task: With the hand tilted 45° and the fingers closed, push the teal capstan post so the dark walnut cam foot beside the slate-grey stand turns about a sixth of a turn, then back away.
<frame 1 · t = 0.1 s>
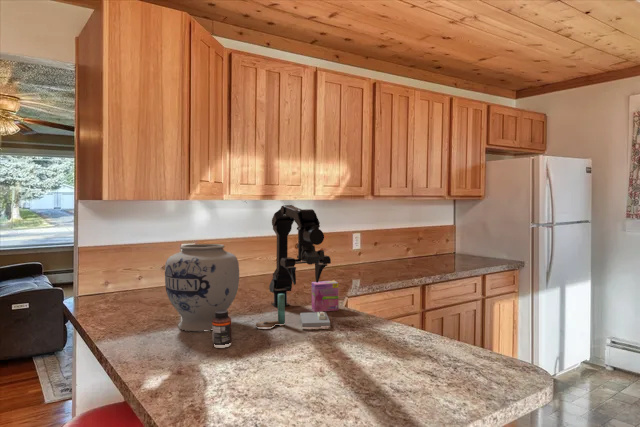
hand: (306, 283, 164), 15 cm above the counter, tool pointing down, fingers open, 9 cm apart
supplement bottle: (222, 346, 138), on the counter
cam foot: (270, 311, 158), point 6 cm above the counter, hinge at 0.0°
box: (325, 310, 182), on the counter
apothecary jar: (203, 325, 161), on the counter
stand: (314, 324, 162), on the counter
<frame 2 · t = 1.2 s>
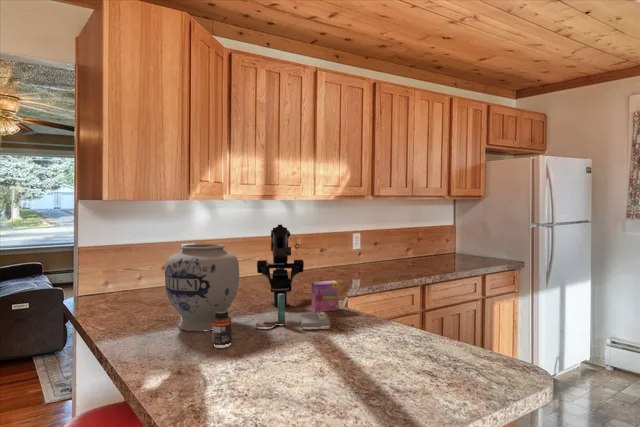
hand: (280, 284, 170), 13 cm above the counter, tool tilted 45°, fingers open, 8 cm apart
nothing on the counter moved.
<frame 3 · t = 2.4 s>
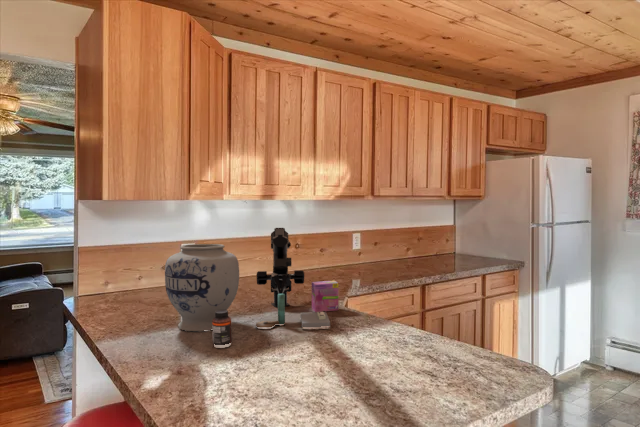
hand: (280, 295, 166), 10 cm above the counter, tool tilted 45°, fingers closed
nothing on the counter moved.
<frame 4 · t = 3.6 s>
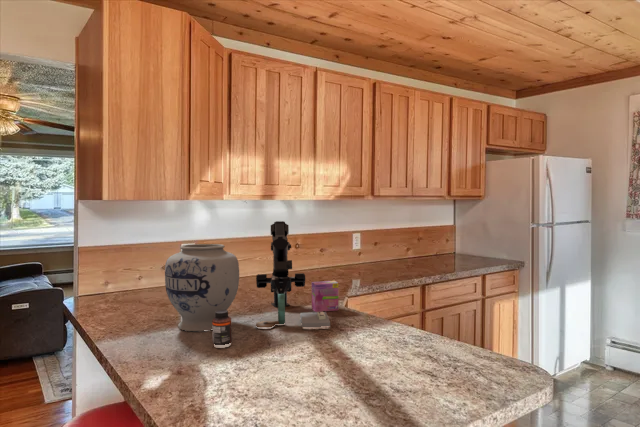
hand: (281, 299, 161), 9 cm above the counter, tool tilted 45°, fingers closed, pressing on cam foot
cam foot: (270, 311, 158), point 6 cm above the counter, hinge at 1.8°, touching gripper
everything else where it was.
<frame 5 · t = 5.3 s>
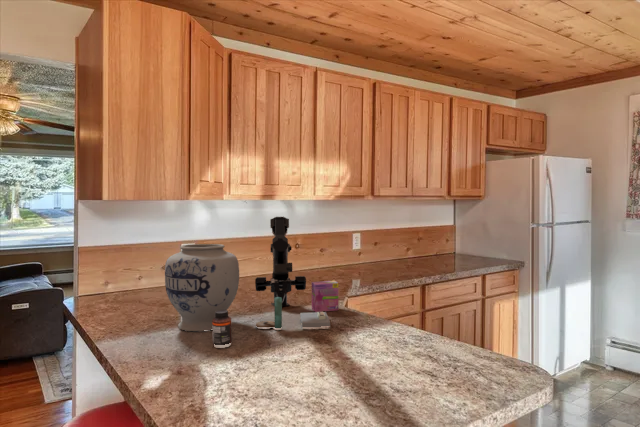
hand: (281, 303, 156), 9 cm above the counter, tool tilted 45°, fingers closed
cam foot: (268, 312, 157), point 6 cm above the counter, hinge at 54.7°, touching gripper
everything else where it was.
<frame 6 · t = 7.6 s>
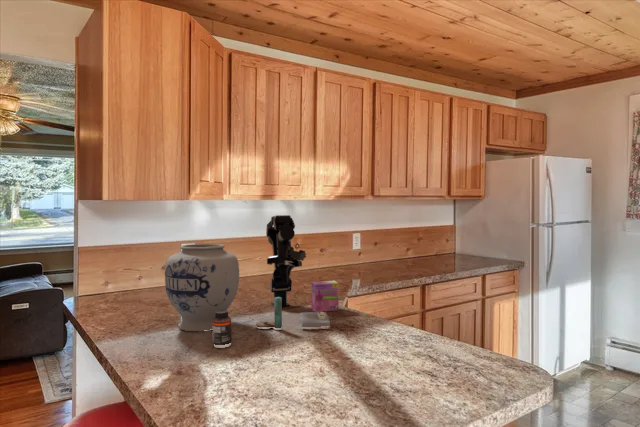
hand: (286, 283, 173), 13 cm above the counter, tool tilted 15°, fingers closed
cam foot: (268, 312, 157), point 6 cm above the counter, hinge at 54.8°
everything else where it was.
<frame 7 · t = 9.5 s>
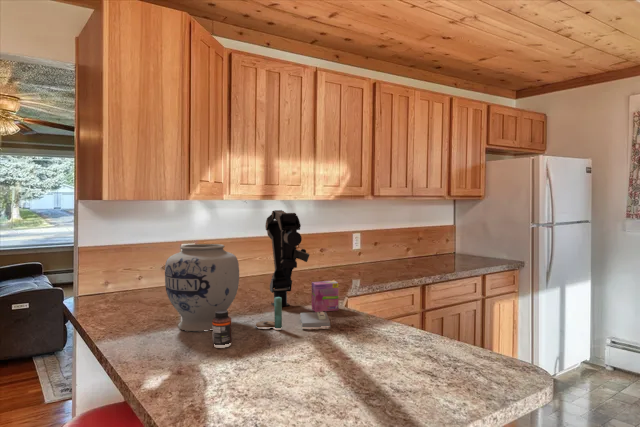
hand: (288, 282, 175), 13 cm above the counter, tool pointing down, fingers closed
nothing on the counter moved.
at the end: cam foot at +55° (first picture: +0°) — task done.
